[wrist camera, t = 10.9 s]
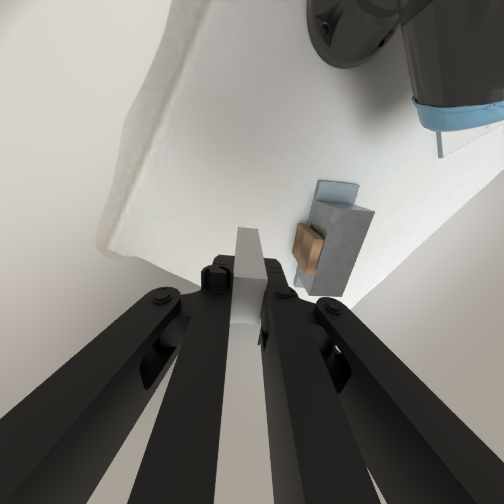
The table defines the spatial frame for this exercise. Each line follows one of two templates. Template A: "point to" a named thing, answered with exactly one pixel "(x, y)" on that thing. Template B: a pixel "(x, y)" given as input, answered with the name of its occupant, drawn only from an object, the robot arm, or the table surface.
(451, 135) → the external hard drive
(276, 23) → the table surface
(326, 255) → the housing
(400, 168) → the table surface
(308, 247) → the brown wooden block
